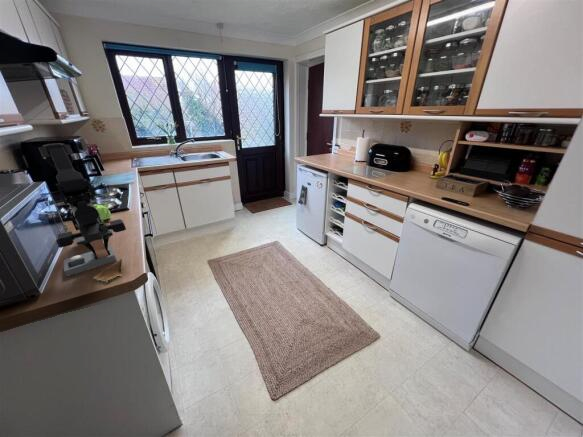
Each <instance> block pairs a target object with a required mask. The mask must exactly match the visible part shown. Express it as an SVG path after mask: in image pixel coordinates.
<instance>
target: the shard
mask: <svg viewBox="0 0 583 437" xmlns="http://www.w3.org/2000/svg"><path fill="white" fill-rule="evenodd" d="M120 274H122V275H123V259H120V260H118V261H117V262H116V261H115V263H113V264H111V265H110V266H108V267H106V268H104V269H103V270H102V271H100V272H99V273H97V274H95V275H94V276H93V279H94V278H95V279H101V280H105V281H108V280H110V279H111V278H113V277H115V276H117V275H120ZM110 281H111V280H110Z"/></svg>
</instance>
